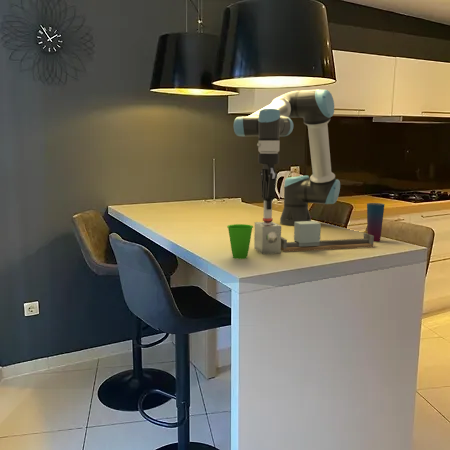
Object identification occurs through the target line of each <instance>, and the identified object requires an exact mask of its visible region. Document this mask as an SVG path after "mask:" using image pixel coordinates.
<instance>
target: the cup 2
mask: <svg viewBox="0 0 450 450" xmlns="http://www.w3.org/2000/svg"><path fill="white" fill-rule="evenodd" d="M384 213H385V203H382V202H368V203H366V214H367V215H366V216H367V217H366V220H367V222H366V227H367V228H366V229H367V230H366V231H367V232H366V233H367V234H370V235H373V236H374V241H378V242H381V237H382V228H383V222H384Z"/></svg>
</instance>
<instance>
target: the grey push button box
mask: <svg viewBox="0 0 450 450" xmlns="http://www.w3.org/2000/svg"><path fill="white" fill-rule="evenodd" d="M253 236H254V238H253V239H254V240H253V241H254V244H253V245H254V250H256V251H257V252H258V253H259V254H261V255H271V254H273V255H275V254H282V253H281V252H282V250H281V237H282V225H281V224H278V223H276V222H274V221H272V223H271V225H264V221H256V222H254V235H253Z"/></svg>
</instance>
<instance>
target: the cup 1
mask: <svg viewBox="0 0 450 450" xmlns="http://www.w3.org/2000/svg"><path fill="white" fill-rule="evenodd" d="M227 229H228V230H227V231H228V235H229V242H230V249H231V254H232V257H233V258H232V259H236V260H243V259H244V260H245V259H247V258H248V255H249V249H250V243H251V237H252V232H253V229H254V226H253V225H251V224H246V223H245V224H244V223H243V224H241V223H236V224H235V223H234V224H229V225H227Z"/></svg>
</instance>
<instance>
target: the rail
mask: <svg viewBox="0 0 450 450" xmlns="http://www.w3.org/2000/svg"><path fill="white" fill-rule="evenodd" d="M298 244H299V242H294V241H288V239H286V238H284V237H282V236H281V252H284V253H287V252H304V251H305V252H306V251H307V252H308V251H325V249H328V250H342V249H341V248H348V249H358V248H357V247H367V248H374V236H373V235H370V234H367V232H364V233H363V238H347V239H345V238H344V239H329V240H328V239H326V240H324V239H323V240H322V239H320V243H319V246H304V247H299V246H298Z"/></svg>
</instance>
